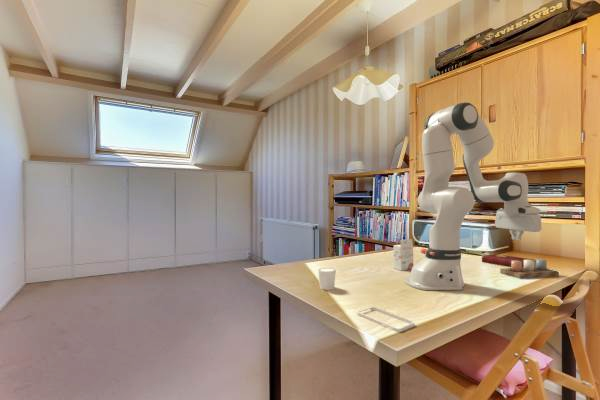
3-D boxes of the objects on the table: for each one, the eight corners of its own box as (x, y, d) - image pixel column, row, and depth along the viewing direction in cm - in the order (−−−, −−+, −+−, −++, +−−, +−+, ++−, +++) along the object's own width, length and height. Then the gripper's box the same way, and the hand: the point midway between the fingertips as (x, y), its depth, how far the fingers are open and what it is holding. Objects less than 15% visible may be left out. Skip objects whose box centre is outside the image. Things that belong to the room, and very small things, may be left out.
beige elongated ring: (415, 327, 82) (372, 310, 94) (415, 322, 82) (372, 306, 94) (398, 334, 78) (356, 316, 90) (398, 329, 78) (356, 311, 90)
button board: (519, 278, 128) (519, 273, 128) (500, 272, 138) (500, 268, 138) (558, 276, 131) (558, 271, 131) (537, 270, 141) (537, 266, 141)
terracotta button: (516, 272, 131) (516, 262, 131) (509, 270, 135) (508, 260, 135) (523, 272, 132) (523, 261, 132) (516, 270, 136) (516, 260, 136)
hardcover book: (525, 271, 143) (525, 262, 143) (481, 263, 162) (481, 255, 162) (538, 268, 148) (538, 259, 148) (494, 260, 167) (494, 253, 167)
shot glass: (321, 291, 113) (321, 272, 113) (315, 285, 120) (315, 268, 120) (338, 289, 115) (338, 271, 115) (332, 284, 122) (331, 267, 122)
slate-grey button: (541, 270, 134) (541, 260, 134) (533, 269, 137) (533, 259, 137) (548, 270, 134) (548, 260, 134) (540, 268, 138) (540, 258, 138)
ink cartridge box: (405, 266, 152) (405, 237, 152) (413, 268, 148) (413, 238, 148) (393, 268, 148) (393, 238, 148) (400, 270, 144) (400, 240, 144)
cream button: (529, 271, 132) (529, 261, 132) (521, 269, 136) (521, 259, 136) (536, 271, 133) (536, 261, 133) (528, 269, 137) (528, 259, 137)
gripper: (491, 208, 143) (491, 237, 143) (531, 209, 123) (531, 243, 123) (502, 208, 144) (503, 236, 144) (544, 209, 124) (544, 243, 124)
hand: (516, 240), depth 134 cm, fingers closed
